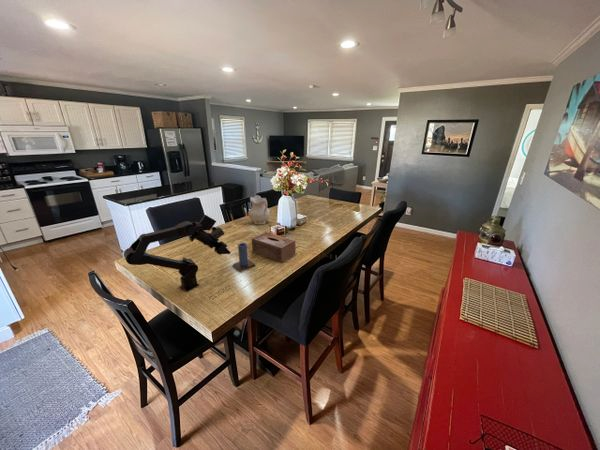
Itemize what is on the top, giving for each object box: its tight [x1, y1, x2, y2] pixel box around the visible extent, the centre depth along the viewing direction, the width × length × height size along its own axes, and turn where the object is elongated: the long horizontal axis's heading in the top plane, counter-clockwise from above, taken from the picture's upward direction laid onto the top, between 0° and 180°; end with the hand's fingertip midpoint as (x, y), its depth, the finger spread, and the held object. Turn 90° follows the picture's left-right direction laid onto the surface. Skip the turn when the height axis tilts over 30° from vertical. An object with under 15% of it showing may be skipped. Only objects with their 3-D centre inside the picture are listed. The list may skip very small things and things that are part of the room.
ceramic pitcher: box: [247, 194, 271, 225], centre depth 215 cm, size 22×20×25 cm
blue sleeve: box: [237, 242, 249, 266], centre depth 142 cm, size 5×5×13 cm
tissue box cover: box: [251, 231, 296, 263], centre depth 159 cm, size 26×14×10 cm, turn 55°
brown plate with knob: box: [232, 259, 256, 272], centre depth 144 cm, size 10×9×4 cm
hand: (226, 250), depth 134 cm, fingers open, 9 cm apart
